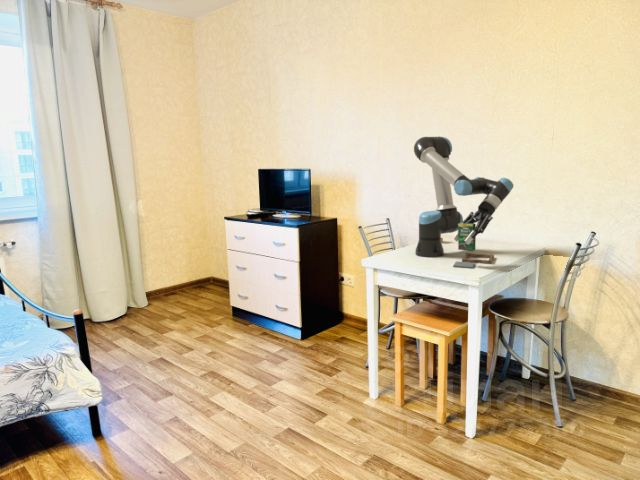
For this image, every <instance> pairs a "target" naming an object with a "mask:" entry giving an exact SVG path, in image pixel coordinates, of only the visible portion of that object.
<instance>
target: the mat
mask: <svg viewBox="0 0 640 480" xmlns="http://www.w3.org/2000/svg"><path fill="white" fill-rule="evenodd" d="M475 265H476V263H471V262H462V261H455V262H454V264H453V265H452V267H453V268H458V269H459V268H462V269H474V267H475Z"/></svg>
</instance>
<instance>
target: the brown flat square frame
mask: <svg viewBox="0 0 640 480" xmlns="http://www.w3.org/2000/svg"><path fill="white" fill-rule="evenodd" d="M475 258H477V259H475ZM478 258H482V259H478ZM483 258H484V259H483ZM494 258H495V254H489V253H488V254H486V253H485V254H484V253H472V252H471V253H469V252H466V253H465V254H464V256H463V257H462V258H461V262H471V263H475V264H483V265H484V264H485V265H486V264H487V265H493V264H492V263H493V261H494Z"/></svg>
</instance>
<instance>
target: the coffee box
mask: <svg viewBox="0 0 640 480" xmlns="http://www.w3.org/2000/svg"><path fill="white" fill-rule="evenodd" d="M476 225H477V223H459V224H458V231H457V232H458V241H457V245H458V246H457V247H458V249H457V250H459V251H467V252H468V251H469V252H475V251H476V244H477V243H476V242H477V241H476V237H477V236H476V237H475V238H474V239H473V240H472V241H471V243H470V244H469V245H468V244H467V243H466V242H465V240H466V238H467V237H468V236H469V235H470V233H471V232H472V231H473V230H474V231H475V228H476Z"/></svg>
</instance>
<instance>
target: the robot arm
mask: <svg viewBox="0 0 640 480" xmlns="http://www.w3.org/2000/svg"><path fill="white" fill-rule="evenodd" d="M413 152H414V154H415V157H416V158H417V159H418V160H419V161H420V162H421V163H423V164H427V165H428V166H429V167H430V168H431V173H432V178H433V185H434V192H435V200H436V209H435V210H428V211H423V212H421V213H420V214H419V216H418V217H419V218H418V241H417V244H416V248H415V251H414V252H415V255H416V256H420V257H425V258H435V257H436V258H437V257H442V256H444V254H445V251H444V250H445V249H444V247H443V243H442V241H441V238H442V234H450V233H454V232H456V234H455V235H454V236H453V238H452V239H453V240H454V241H455V242H456V243H458V224H459V223H474V224H476V228H475V231H474V230H473V231H472V232H471V233H470V235H469V236H468V237H467V238H466V240H465V242H466V243H467V244H468V245H469V244H470V243H471V241H472V240H473V239H474V238H475V237H477V235H479V234H484V232H485V230H486V228H487V227H488V225H489V224H490V222H491V221H492V220H493V218H494V217H493V214H494V213H495V212H496V210H497V209H498V208H499V207H500V205H501V204H502V203H503V202H504V200H505V199H506V198H507V196H509V194H510V193H511V192H512V190H513V189H514V184H513V182H512V181H511V179H509V178H507V177H500V178H499V179H498V181H497V180H492V179H489V178H485V177H479V176H476V177H475V178H472V179H470V178H469V177H468V176H466V175H465V174H463V172H462V171H460V170H459V169H457V168H456V167H455V166H454V165H453V164H451V163H450V162H449V160H450V156H451V154H452V152H453V144H452V143H451V140H449V138H447V137H444V136H440V135H439V136H423V137H419V139H417V140H416V141H415V143H414V145H413ZM451 185H452V187H453V190H454V193H455V195H458V196H462V197H463V196H465V197H466V196H473V195H486V196H485V197H484V198H483V200H482V201H481V203H480V204H478V207H477V211H475V212H473V211H471V212H470V213H469V214H468V215H467V216H466V217H465V218H464V217H463V215H462V213H461V212H460V211H459V210H458V209H457V208H458V207H457V206H455V205H454V200H453V192H452V187H451Z"/></svg>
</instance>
